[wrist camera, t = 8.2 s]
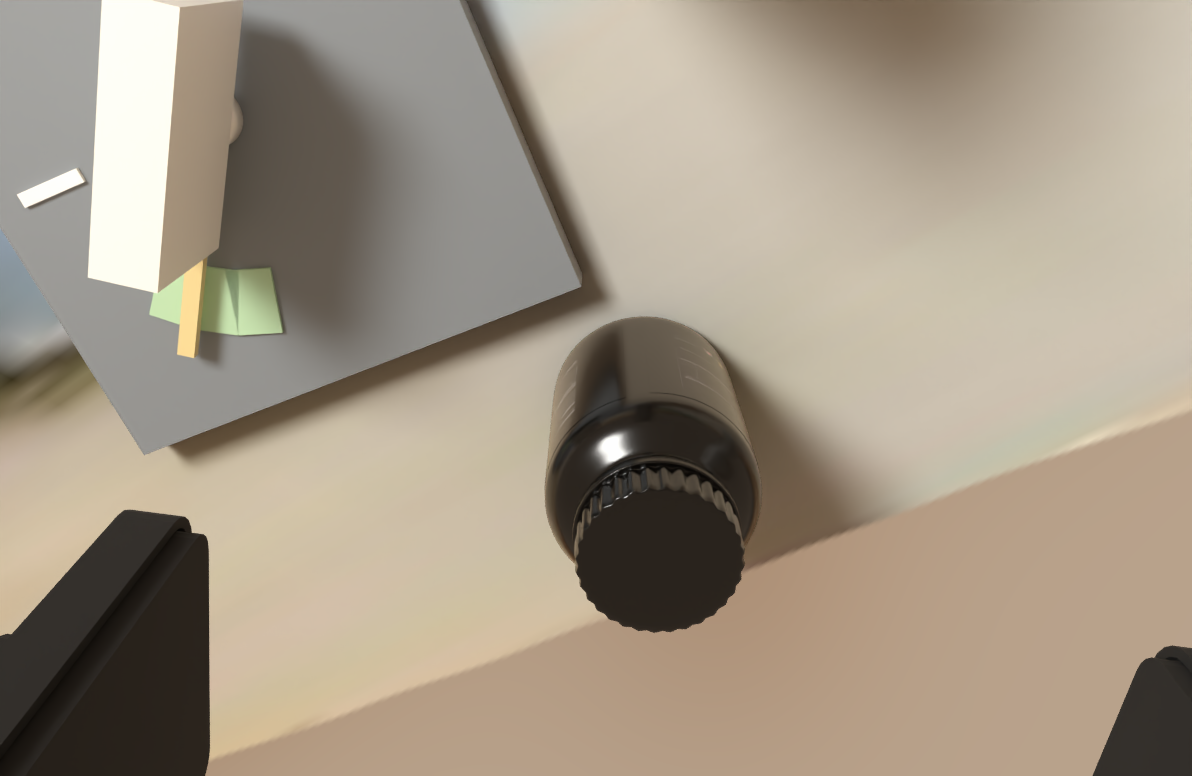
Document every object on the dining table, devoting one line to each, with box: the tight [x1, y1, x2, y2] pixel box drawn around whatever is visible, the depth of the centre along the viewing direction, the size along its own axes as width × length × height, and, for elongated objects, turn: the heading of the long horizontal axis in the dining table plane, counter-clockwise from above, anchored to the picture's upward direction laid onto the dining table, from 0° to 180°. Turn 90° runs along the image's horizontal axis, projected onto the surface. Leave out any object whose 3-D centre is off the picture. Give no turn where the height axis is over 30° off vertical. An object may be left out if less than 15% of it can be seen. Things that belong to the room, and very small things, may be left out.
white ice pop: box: [88, 0, 244, 358], centre depth 32 cm, size 12×2×6 cm, turn 167°
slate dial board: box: [0, 0, 582, 455], centre depth 35 cm, size 18×20×2 cm
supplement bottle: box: [545, 317, 762, 633], centre depth 34 cm, size 7×7×12 cm
